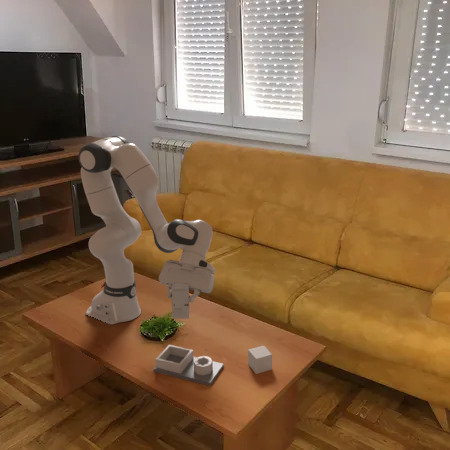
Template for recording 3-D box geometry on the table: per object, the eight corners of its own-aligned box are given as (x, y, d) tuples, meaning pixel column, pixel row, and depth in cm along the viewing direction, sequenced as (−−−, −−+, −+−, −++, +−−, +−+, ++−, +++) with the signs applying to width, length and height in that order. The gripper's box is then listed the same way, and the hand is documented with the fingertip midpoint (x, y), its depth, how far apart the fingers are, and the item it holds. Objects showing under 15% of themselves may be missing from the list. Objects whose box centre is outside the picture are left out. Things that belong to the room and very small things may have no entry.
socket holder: (153, 371, 173) (152, 360, 171) (169, 353, 182) (168, 342, 181) (210, 385, 165) (209, 374, 164) (223, 366, 175) (223, 355, 173)
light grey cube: (256, 374, 170) (256, 358, 168) (248, 364, 176) (248, 349, 174) (272, 369, 173) (272, 354, 171) (263, 360, 178) (263, 345, 176)
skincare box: (172, 319, 181) (170, 288, 177) (173, 312, 185) (171, 282, 181) (189, 318, 181) (188, 288, 177) (190, 312, 185) (189, 282, 181)
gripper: (162, 255, 186) (150, 291, 181) (214, 264, 179) (202, 302, 174) (169, 262, 192) (157, 296, 187) (219, 271, 184) (208, 307, 179)
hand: (179, 299), depth 180 cm, fingers closed on skincare box, 7 cm apart
